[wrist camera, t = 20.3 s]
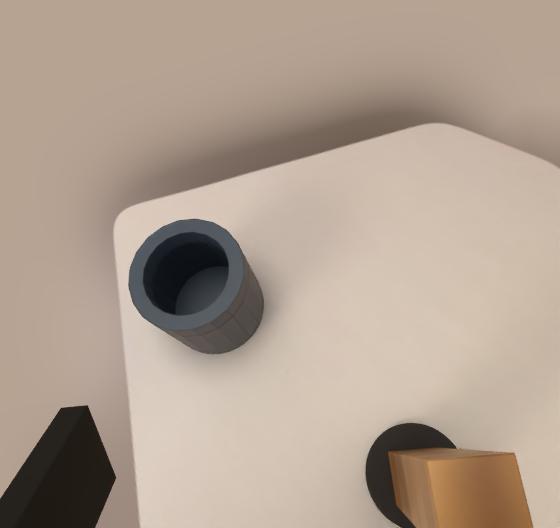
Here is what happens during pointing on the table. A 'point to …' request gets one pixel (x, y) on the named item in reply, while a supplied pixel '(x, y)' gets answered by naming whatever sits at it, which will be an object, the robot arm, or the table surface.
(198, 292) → the jar
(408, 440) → the coaster
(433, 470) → the wooden block
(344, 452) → the table surface
